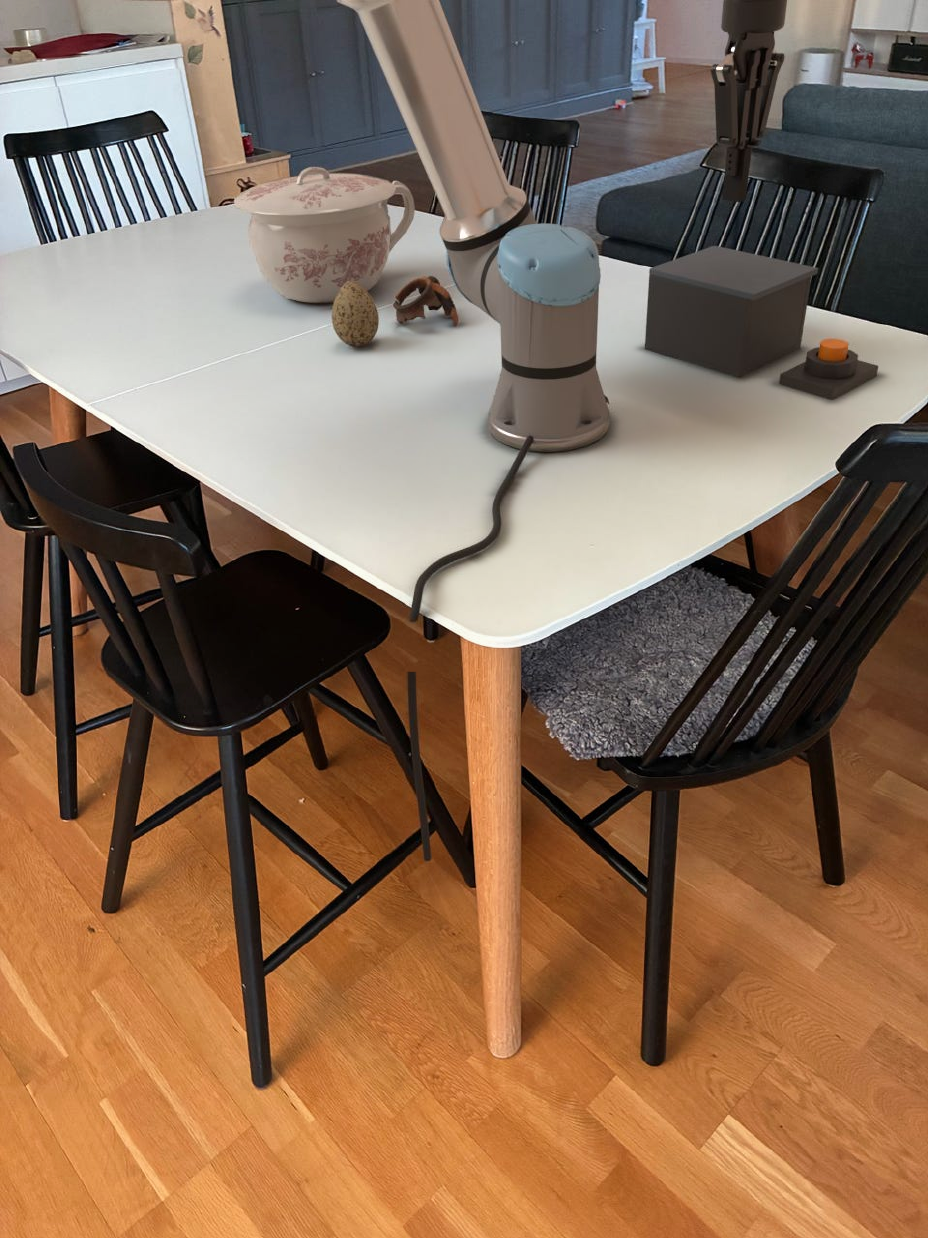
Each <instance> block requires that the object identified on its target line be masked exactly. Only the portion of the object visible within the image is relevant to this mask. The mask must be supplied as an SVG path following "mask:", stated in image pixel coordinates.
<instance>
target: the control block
mask: <svg viewBox="0 0 928 1238" xmlns="http://www.w3.org/2000/svg"><path fill="white" fill-rule="evenodd" d="M818 352H819V347H817V346H816V347H814V348H811V349H810V350H807V351H806V357H805V361H804V362H802V363H800V364H798V365H795V366H794V367H792V368H789V369H788V370H787V369H786V370H785V371H783V372H781V373H780V375H779V382H778V384H779V385H781V386H783V387H787V388H791V389H793V390H797V391H800V392H804V393H807V394H810V395H814V396H816V397H820V398H823V399H826V400H830V401H833V400H835V399H837V398H838V397H840V396H842V395H844V394H845V393H847V392H849V391H851V390H853V389H856V388H857V387H858V386H861V385H863V384H865V383H866V382H868V381H870V380H871V379H873V378H875V377H877V375H878V371H879V365H877V364H874V363H870V362H867V361H862V360H859V355H858V354H857V353H856V352H855V351H853V350H851V349H848V351H847V356H846V360H844V361H826V360H822V359H819V358H818Z"/></svg>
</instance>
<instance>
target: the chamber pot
mask: <svg viewBox="0 0 928 1238" xmlns="http://www.w3.org/2000/svg"><path fill="white" fill-rule="evenodd" d="M395 195H401V196H402V199H403V205H404V209H403V216H402V219H401V220H400V222H399V223H398V225H397V227H396V229H395V230H394V231H393V232H392V224H391V216H390V215H389V208H388V201H389V199H390V198H391V197H393V196H395ZM233 203H234V205H235V207H236V208H237V209H238V210H241V211H243V212H246V213H248V214H251V218H250V220H249V224H248V226H247V235H248V240H249V245H250V248H251V250H252V253H253V256H254V259H255V261H256V264H257V267H258V269H259V271H260V273H261V274H262V275H263V276H264V278H265V279H266V280H267V282H268V283H269V284H270V285H271V286H272V287H273V288H274V290H275V291H276V292H277V293H278V294H280V295H281V296H283V297H285V298H287V299H288V300H294V301H297V302H302V303H305V304H306V303H307V304H331V303H334V300H335V298H336V296H337V294H338V292H339V290H340V289H341V288H342V286H343V285H344V284H345V283H346V282H348V281H356V282H357V283H359V284H360V285H361V286H362V287H364V288H365V289H366V291H367V292H369V291H370V290H371V289H372V288H373V287H374V286H376V284H377V283H378V281H379V279H380V277H381V275H382V272H383V271H384V268H385V266H386V264H387V261H388V259H389V256H390V253H391V251H392V250H393V248H394V247H395V246H396V244H397V243H398V242H399V241H400V240H402V238H403V237H404V236H405V235H406V233H407V232H408V230H409V228H410V226H411V224H412V222H413V221H414V218H415V211H416V207H415V200H414V195H413V194H412V192H411V190H410V188H409V187H408V186H407V185H406V184H404V183H402V182H401V181H398V180H393V181H392V182H390V181H389V180H388V179H384V178H381V177H378V176H372V175H369V174H361V173H350V172H349V173H347V172H346V173H345V172H329V171H328V170H327V169H325V168H324V167H319V166H310V167H307V168H304V169H303V170H301V171H300V173H299V175H294V176H288V177H283V178H277V179H274V180H269V181H266V182H263V183H259V184H258V185H255V186H252V187H251V188H248V189H246V190H244V191H242V192H240V193H238V195H237V196H236V197H235V198H234V200H233Z"/></svg>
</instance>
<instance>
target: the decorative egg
mask: <svg viewBox="0 0 928 1238" xmlns="http://www.w3.org/2000/svg"><path fill="white" fill-rule="evenodd" d="M332 303H333V304H332V307H331V322H332V323H331V324H332V327H333V330H334V331H335V334H336V335H337V337H338V339H340V340H341V341H342V342H343V343H344V344H346V345H348V346H350V347H356V348H357V347H364V346H366V345H368V344H369V343H370V342H371V341H372V340H373V339H374V338H375V337H376V335H377V332H378V329H379V325H380V323H379V321H380V318H379V311H378V309H377V305H376V303H375V301H374V299H373V297H372V296H371V294H370V293H369V291H366V289H365V288H364V287H362V286H361V285H360V284H359V283H357V282H356V281H348V282H346V283H345V284H344V285H343V286H342V288H341V289H340V290H339V292H338V294H337V296H336V298H335V300H334V302H332Z"/></svg>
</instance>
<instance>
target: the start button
mask: <svg viewBox="0 0 928 1238" xmlns="http://www.w3.org/2000/svg"><path fill="white" fill-rule="evenodd" d="M849 346H850V345H849V342H847V341H846V340H843V339H840V338H825V339H822V340H821V341H820V342H819V352H818V358H819V359H822V360H826V361H844V360H846V356H847V351H848V350H849Z"/></svg>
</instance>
